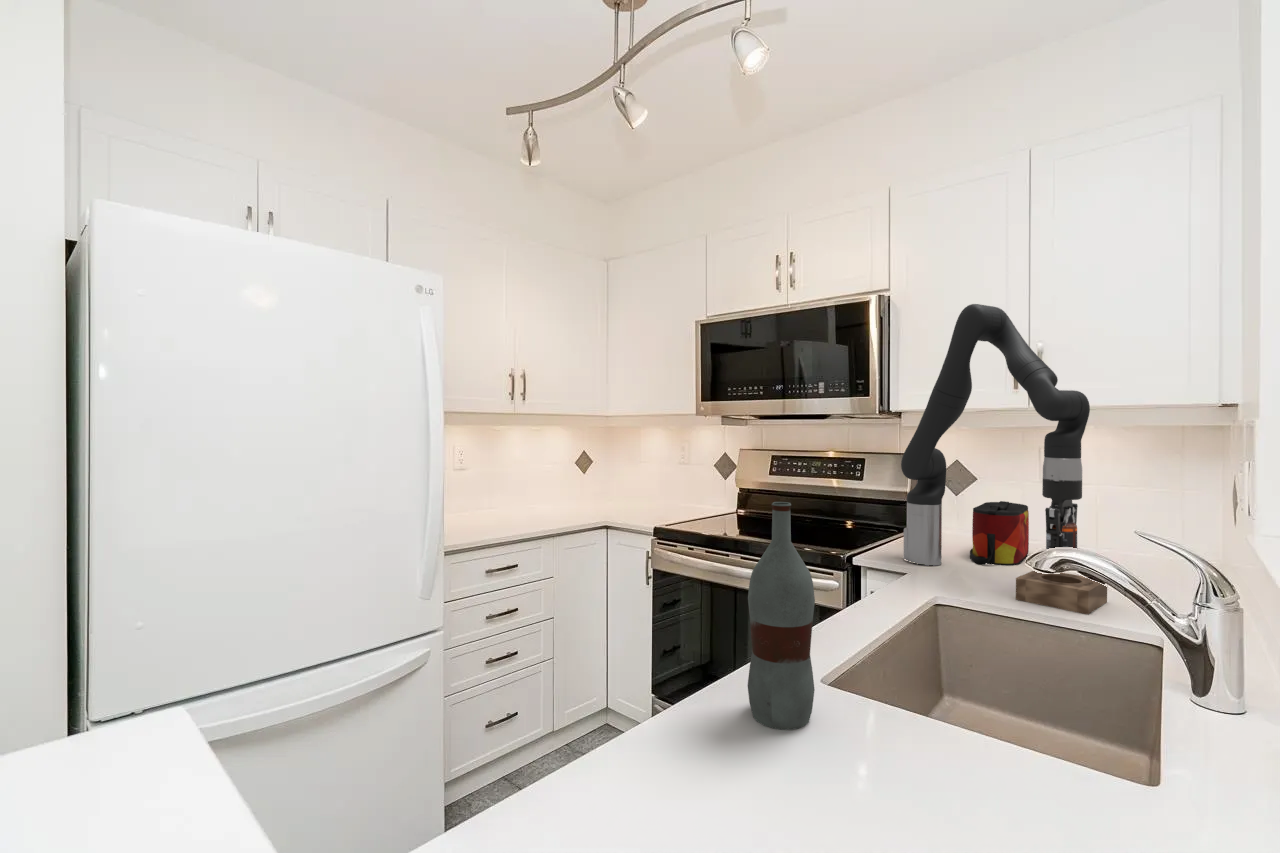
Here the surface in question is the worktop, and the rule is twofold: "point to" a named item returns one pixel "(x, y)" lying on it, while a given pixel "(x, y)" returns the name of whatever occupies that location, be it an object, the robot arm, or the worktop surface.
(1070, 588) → the socket block
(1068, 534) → the supplement bottle
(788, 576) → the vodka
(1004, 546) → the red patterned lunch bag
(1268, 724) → the worktop surface
